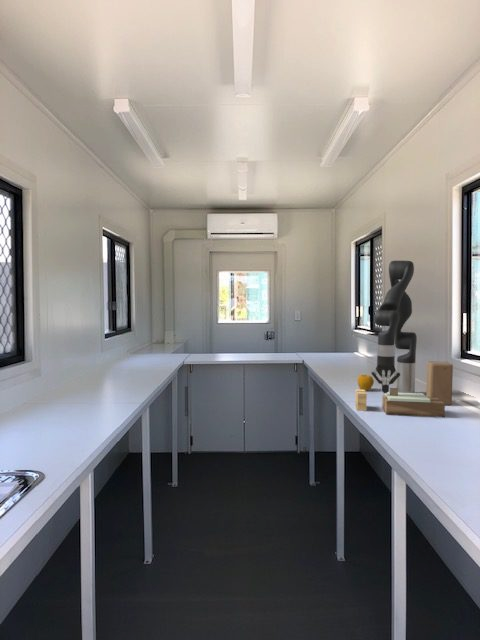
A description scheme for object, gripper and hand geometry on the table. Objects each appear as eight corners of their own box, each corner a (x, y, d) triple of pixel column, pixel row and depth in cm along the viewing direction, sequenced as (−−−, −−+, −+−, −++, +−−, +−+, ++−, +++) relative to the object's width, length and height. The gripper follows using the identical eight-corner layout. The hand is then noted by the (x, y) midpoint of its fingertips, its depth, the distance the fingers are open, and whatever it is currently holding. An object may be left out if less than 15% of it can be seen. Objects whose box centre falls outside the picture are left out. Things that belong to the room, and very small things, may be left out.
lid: (384, 394, 208) (384, 385, 208) (423, 396, 206) (423, 387, 206) (389, 400, 196) (389, 391, 195) (430, 402, 193) (430, 392, 193)
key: (355, 406, 213) (355, 389, 212) (364, 406, 212) (364, 389, 212) (357, 410, 204) (357, 393, 203) (366, 411, 203) (366, 393, 203)
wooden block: (452, 405, 214) (453, 364, 213) (429, 404, 216) (430, 363, 215) (446, 401, 224) (448, 361, 223) (425, 400, 226) (426, 360, 225)
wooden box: (382, 408, 208) (382, 395, 208) (436, 410, 205) (437, 397, 204) (386, 414, 197) (386, 401, 196) (444, 417, 193) (444, 403, 193)
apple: (375, 390, 250) (376, 374, 249) (369, 392, 243) (369, 376, 243) (361, 388, 255) (362, 372, 255) (354, 390, 249) (355, 374, 249)
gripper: (399, 354, 204) (398, 391, 205) (369, 353, 206) (369, 390, 207) (402, 356, 197) (402, 395, 197) (371, 355, 199) (371, 394, 200)
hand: (385, 392), depth 202 cm, fingers closed
